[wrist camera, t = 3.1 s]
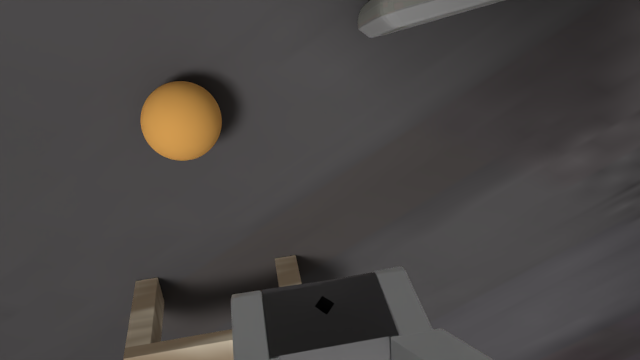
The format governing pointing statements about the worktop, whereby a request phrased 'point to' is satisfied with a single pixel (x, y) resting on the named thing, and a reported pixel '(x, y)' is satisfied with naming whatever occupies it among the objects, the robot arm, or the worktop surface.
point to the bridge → (189, 352)
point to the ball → (181, 120)
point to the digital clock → (410, 13)
